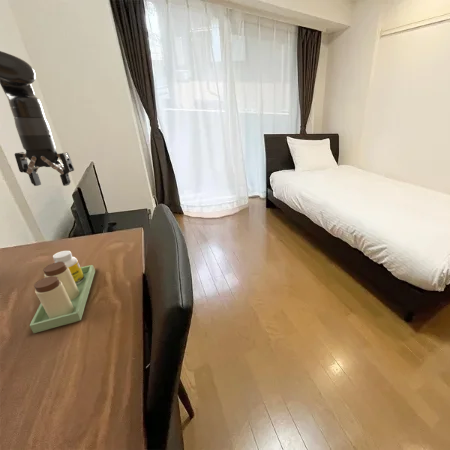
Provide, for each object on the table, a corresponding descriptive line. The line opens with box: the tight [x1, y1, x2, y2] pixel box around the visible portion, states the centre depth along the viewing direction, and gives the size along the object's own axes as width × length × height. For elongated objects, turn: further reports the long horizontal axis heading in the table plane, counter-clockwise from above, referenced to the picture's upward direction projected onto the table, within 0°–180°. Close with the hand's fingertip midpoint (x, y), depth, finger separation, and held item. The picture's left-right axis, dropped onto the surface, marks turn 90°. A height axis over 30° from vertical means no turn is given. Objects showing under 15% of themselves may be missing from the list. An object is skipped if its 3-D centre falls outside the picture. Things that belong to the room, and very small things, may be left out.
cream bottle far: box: [33, 276, 74, 319], centre depth 67 cm, size 5×5×10 cm
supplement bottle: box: [52, 250, 84, 285], centre depth 79 cm, size 5×5×10 cm
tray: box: [29, 264, 96, 334], centre depth 75 cm, size 23×9×2 cm, turn 27°
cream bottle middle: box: [42, 262, 80, 300], centre depth 73 cm, size 5×5×10 cm
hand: (52, 185), depth 89 cm, fingers open, 8 cm apart
